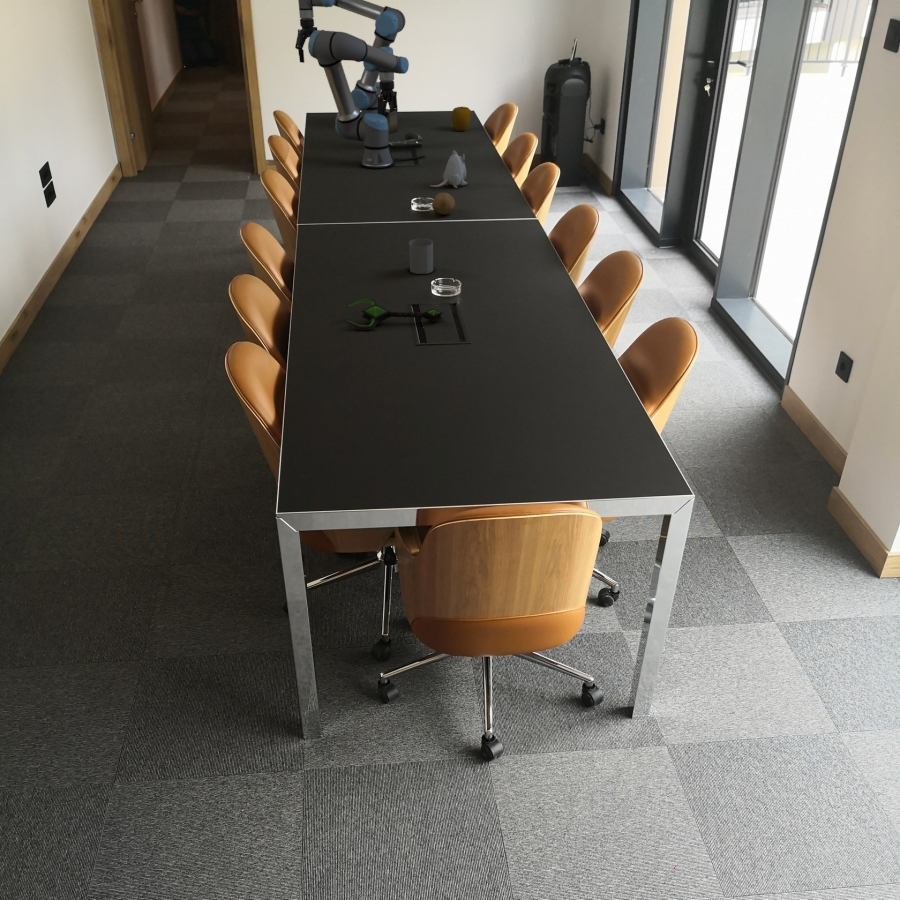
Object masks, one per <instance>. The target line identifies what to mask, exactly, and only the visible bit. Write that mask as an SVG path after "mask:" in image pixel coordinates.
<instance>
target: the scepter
mask: <svg viewBox="0 0 900 900" xmlns="http://www.w3.org/2000/svg"><path fill="white" fill-rule="evenodd" d="M360 303H368V304H370V305H371V306H369V307H367V308H364V309H362V310H360V312H361V313H362V315H361V317H362V318H363V319H366V320H367V321H369V322H370V324H368V325H361V324H357V323H355V322H353V321H350V320H345V322H346V323H347V324H349V325H351V326H352V327H354V328H355V329H358V330H366V331H367V330H369V331H370V330H374V328H375V327H376V325H377V324H380V323H381V322H384V321H386V320H388V319H390V318H412V319H413V318H416V319H417V318H418V319H421V318H423V319H425V320H427V321H429V322H433V323H435V322H437V321H440V320H442V319H443V317H442V314H443V312H442V311H440V310H437V309H435V308H431V309H429V310H426V311H424V312H422V311H418V312H413V311H409V312H408V311H391V310H389V309H387V308H385V307H383V306H381V305H380V304H377V302H376V301H375V300H374V299H373V298H359V299H356V300H354V301H352V302H350V303H348V304H346V307H352V306H355V305H357V304H360Z"/></svg>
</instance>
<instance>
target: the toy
mask: <svg viewBox="0 0 900 900" xmlns="http://www.w3.org/2000/svg"><path fill="white" fill-rule="evenodd" d="M466 178H467V168H466V156H465V153H463V154H462V155H459V154H458V153H457V151H456V150H455V149H453V150H452V153H451V155H450V156H449V158H448V161H447V163H446V166H445V170H444V171H443V177H442V179H443V181H442V182H441V183H439V184H436V185H435V184H433V185H432V184H430V185H428V186H429V187H434V188H440V187H443V186H446V187H448V186H449V185H451V186H453V188H455V189H459V187H458V186H461V187H462V186H467V185H468V182H467V181H465V180H466Z"/></svg>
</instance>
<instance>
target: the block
mask: <svg viewBox="0 0 900 900" xmlns="http://www.w3.org/2000/svg"><path fill="white" fill-rule="evenodd" d="M385 116H386V119H387V122H388V135H391V134H395V133H398V131H399V129H398V127H399V126H398V125H399V123H398V111H397V110H391V109H390V108H386V112H385Z"/></svg>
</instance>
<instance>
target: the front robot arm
mask: <svg viewBox="0 0 900 900" xmlns="http://www.w3.org/2000/svg"><path fill="white" fill-rule="evenodd" d="M307 51H308V53H309V55H310V56H311V57H312V58H314V59H316V58H317V59H316V60H317V63H318V66H319V67H320V68H323V71H324V73H325V77H326V79H327V82H328V85H329V88H330V91H331V94H332V98H333V100H334V103H335V106H336V109H337V114H336V118H335V119H334V122H335V124H334V127H335V131H336V133H337V135H338V136H339V137H340V138H341V139H344V140H345V139H346V140H349V141H358V142H364V151H363V155H362V159H361V166H362V167H363V168H366V169H371V170H381V169H387V168H390V167H392V166H394V161H402V162H403V161H411V160H416V159H422V158H425V157H426V156H425V155H418V156H413V157H406V158H392V155H391V152H390V151H391V150H390V147H389V145H390V144H389V134H388V122H387V119H386V116H385V112H386V109H387V105H388V109H391V110H397V112H398V111H399V109H398V98H397V96H398V91H397V90H396V91H395V90H394V89H395V81H394V80H395V74H399V75H400V74H401V75H403V74H407V72H408V71H409V67H410V62H409V59H408V58H407V57H405V56H402V55H401V56H398V55H395V54H394V48H393V47H390V46H389V47H380V48H379V49H378V48H375V47H373V45H371V44H368V43H367V42H366V41H365V40H364V39H362V38H359V37H357V36H355V35H352V34H351V33H348V32H345V31H335V30H325V29H317V30H316V31H314V32H313V33H312V34H311V36H310V37H309V39H308V43H307ZM343 61H350V62H351V61H352V62H356V63H361V62H362V64H363V68H365V69H366V70H367V71H368V72H374V71H379V76H378V80H379V81H378V82H379V87H380V89H381V94H380V95H377V98H378V114H375V113H374V114H373V113H367V114H365V115H364V116H362V115H361V111H360V109H359V108H358V107H355V104H354V101H353V98H352V95H351V92H352V90H351V88H350V85H349V82H348V79H347V75H346V73H345V70H344V66H343V63H342V62H343Z"/></svg>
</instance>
